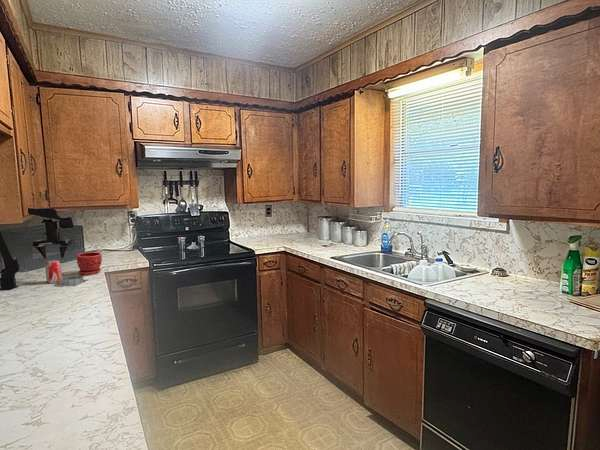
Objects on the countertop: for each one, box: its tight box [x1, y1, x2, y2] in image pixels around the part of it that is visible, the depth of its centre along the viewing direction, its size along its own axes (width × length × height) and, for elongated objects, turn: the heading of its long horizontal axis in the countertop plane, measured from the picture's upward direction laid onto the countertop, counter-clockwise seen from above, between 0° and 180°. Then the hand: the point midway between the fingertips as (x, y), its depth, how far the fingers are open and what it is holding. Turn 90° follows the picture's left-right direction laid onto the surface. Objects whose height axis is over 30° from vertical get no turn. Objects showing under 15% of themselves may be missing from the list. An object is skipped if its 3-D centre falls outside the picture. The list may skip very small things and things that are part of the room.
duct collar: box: [55, 274, 89, 287], centre depth 201 cm, size 11×11×3 cm
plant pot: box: [76, 251, 103, 276], centre depth 222 cm, size 13×13×12 cm
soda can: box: [45, 259, 63, 284], centre depth 202 cm, size 7×7×12 cm
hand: (53, 258), depth 203 cm, fingers open, 9 cm apart
